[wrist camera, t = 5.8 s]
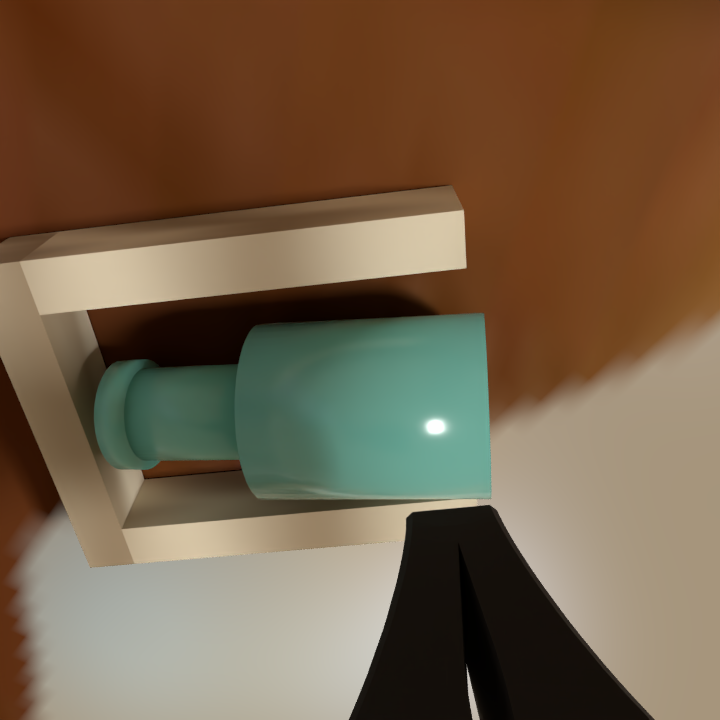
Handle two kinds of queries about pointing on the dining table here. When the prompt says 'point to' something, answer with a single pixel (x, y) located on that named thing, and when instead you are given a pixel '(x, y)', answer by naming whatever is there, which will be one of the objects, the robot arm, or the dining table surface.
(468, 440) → the bottle
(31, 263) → the cradle
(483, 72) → the dining table surface
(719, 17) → the dining table surface
